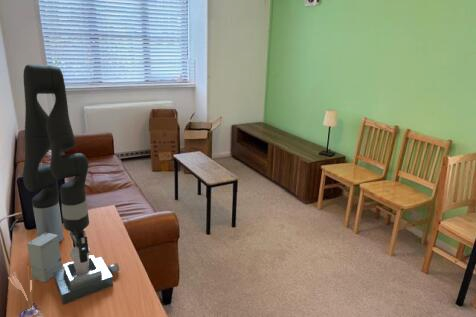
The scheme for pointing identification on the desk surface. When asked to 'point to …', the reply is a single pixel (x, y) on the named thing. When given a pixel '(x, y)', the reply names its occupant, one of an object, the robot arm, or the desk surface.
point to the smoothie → (79, 267)
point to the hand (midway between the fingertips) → (80, 255)
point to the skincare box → (45, 256)
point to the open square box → (84, 279)
